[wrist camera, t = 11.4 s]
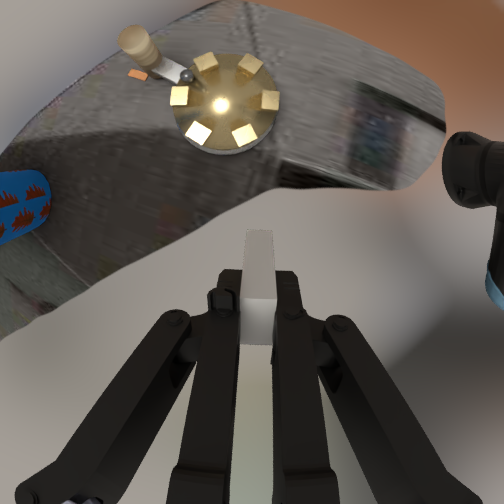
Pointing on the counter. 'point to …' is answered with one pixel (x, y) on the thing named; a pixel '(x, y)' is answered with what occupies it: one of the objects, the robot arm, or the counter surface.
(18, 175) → the thermos
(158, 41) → the counter surface
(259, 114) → the studded brass turntable
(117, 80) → the counter surface
